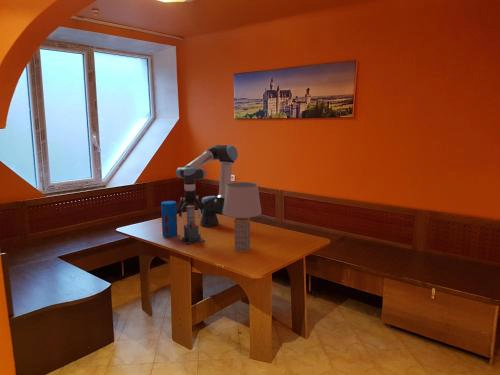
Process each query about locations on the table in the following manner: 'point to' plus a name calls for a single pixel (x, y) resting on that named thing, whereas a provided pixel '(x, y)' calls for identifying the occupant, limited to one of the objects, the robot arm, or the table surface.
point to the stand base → (191, 235)
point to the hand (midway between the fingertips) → (190, 219)
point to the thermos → (169, 219)
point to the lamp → (242, 210)
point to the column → (190, 215)
